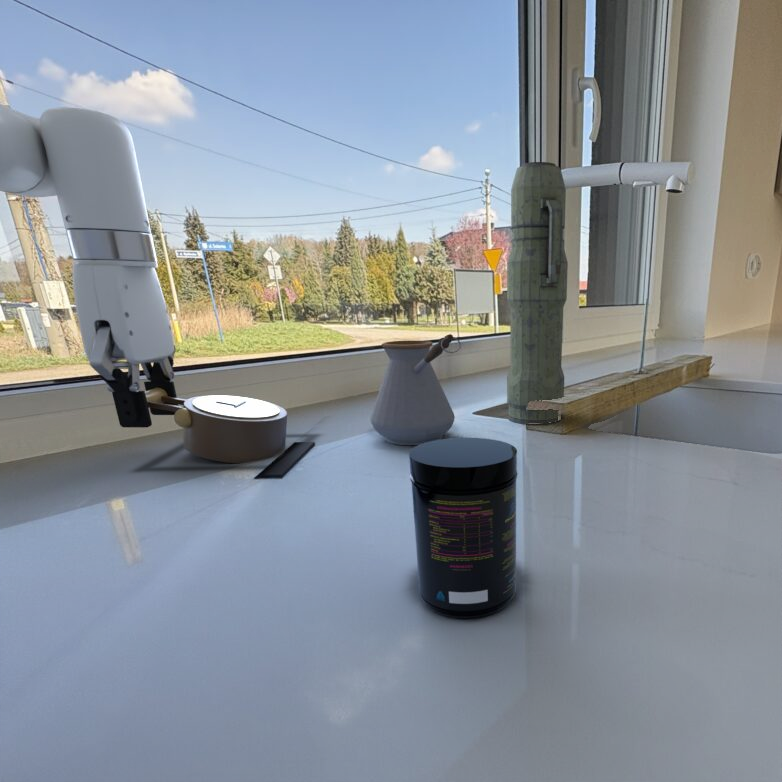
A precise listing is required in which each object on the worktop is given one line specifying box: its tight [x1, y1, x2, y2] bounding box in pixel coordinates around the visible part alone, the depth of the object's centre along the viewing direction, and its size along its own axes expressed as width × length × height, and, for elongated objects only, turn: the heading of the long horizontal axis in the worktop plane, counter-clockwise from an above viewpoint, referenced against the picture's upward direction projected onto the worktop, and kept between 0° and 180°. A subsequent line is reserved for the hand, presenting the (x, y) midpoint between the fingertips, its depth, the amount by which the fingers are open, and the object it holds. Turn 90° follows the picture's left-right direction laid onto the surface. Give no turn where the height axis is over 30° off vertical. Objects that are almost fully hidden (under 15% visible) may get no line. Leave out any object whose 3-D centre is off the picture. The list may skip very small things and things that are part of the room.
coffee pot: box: [369, 333, 462, 446], centre depth 72 cm, size 21×12×15 cm, turn 28°
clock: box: [145, 388, 288, 464], centre depth 67 cm, size 16×11×5 cm
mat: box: [253, 441, 316, 479], centre depth 69 cm, size 15×14×1 cm
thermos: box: [506, 161, 569, 425], centre depth 84 cm, size 9×12×35 cm
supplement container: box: [408, 437, 518, 620], centre depth 37 cm, size 7×7×10 cm
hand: (151, 418), depth 67 cm, fingers closed on clock, 5 cm apart
